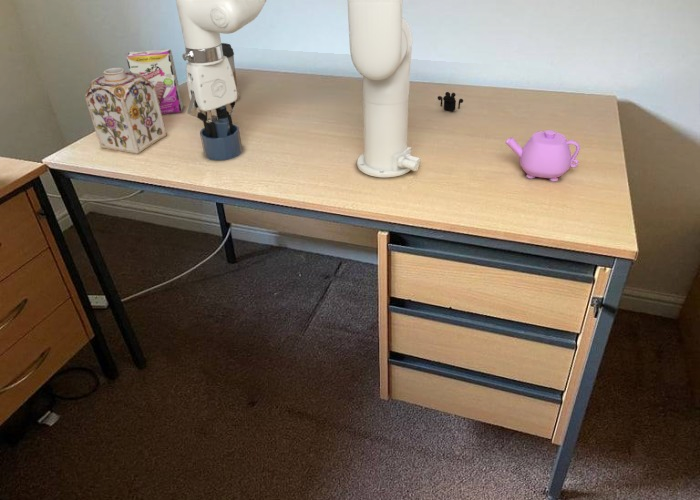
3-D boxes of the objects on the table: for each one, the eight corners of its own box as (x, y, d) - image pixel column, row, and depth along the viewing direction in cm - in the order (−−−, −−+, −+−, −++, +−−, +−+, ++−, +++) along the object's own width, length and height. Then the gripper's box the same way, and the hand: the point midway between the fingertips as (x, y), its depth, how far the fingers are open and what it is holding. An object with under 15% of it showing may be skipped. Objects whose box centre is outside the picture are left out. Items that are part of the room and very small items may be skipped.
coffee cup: (247, 97, 159) (239, 44, 150) (227, 106, 154) (218, 52, 145) (226, 92, 163) (217, 41, 154) (206, 101, 157) (195, 48, 149)
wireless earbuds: (462, 111, 144) (464, 92, 141) (460, 114, 142) (461, 96, 140) (437, 107, 147) (438, 89, 144) (434, 111, 145) (435, 92, 142)
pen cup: (250, 150, 129) (246, 128, 126) (220, 164, 124) (215, 142, 121) (226, 141, 134) (222, 120, 131) (196, 153, 129) (192, 132, 126)
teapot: (575, 188, 109) (585, 145, 104) (499, 179, 113) (505, 137, 108) (575, 165, 117) (584, 124, 112) (504, 157, 121) (510, 118, 116)
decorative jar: (99, 148, 133) (75, 75, 123) (131, 130, 142) (111, 60, 132) (138, 155, 130) (117, 80, 119) (168, 135, 138) (151, 64, 128)
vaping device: (231, 152, 127) (222, 103, 120) (210, 151, 128) (200, 102, 121) (235, 148, 129) (227, 99, 122) (215, 146, 130) (205, 98, 123)
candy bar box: (141, 117, 149) (124, 56, 140) (143, 110, 153) (127, 51, 144) (182, 113, 151) (169, 53, 141) (184, 106, 155) (170, 47, 145)
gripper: (182, 66, 109) (200, 150, 119) (246, 47, 119) (257, 126, 129) (161, 60, 113) (180, 142, 123) (225, 42, 123) (237, 119, 133)
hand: (220, 133), depth 126 cm, fingers closed on vaping device, 4 cm apart
